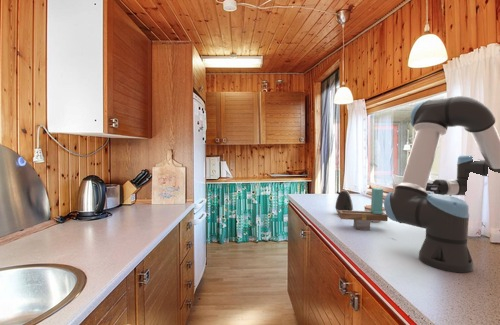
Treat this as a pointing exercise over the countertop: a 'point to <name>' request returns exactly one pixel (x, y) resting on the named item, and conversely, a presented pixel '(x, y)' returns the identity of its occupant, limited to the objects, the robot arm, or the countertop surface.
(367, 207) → the lidded jar
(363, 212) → the beam
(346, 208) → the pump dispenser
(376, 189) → the block
